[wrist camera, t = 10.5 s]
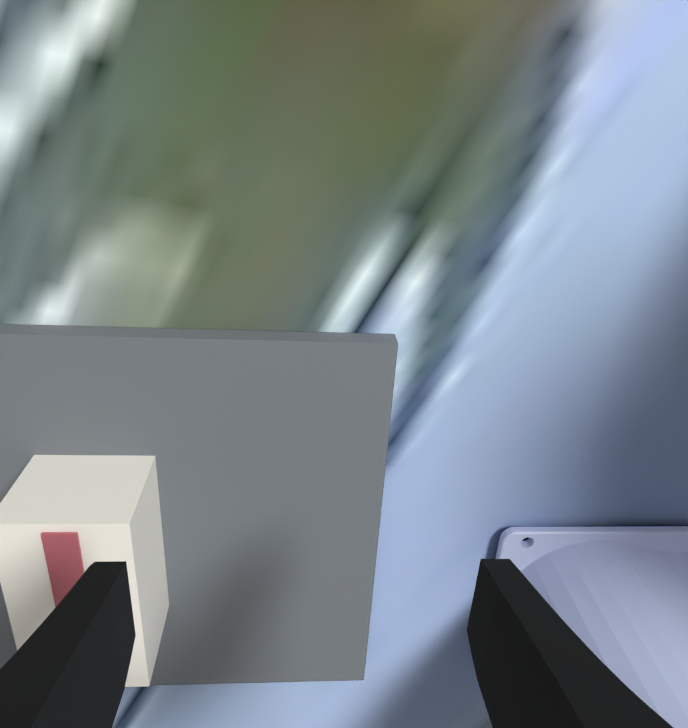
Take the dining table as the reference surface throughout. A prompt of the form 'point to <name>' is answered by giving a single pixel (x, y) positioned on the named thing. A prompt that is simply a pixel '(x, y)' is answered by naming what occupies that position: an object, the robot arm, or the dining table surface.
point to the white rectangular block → (85, 542)
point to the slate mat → (226, 479)
